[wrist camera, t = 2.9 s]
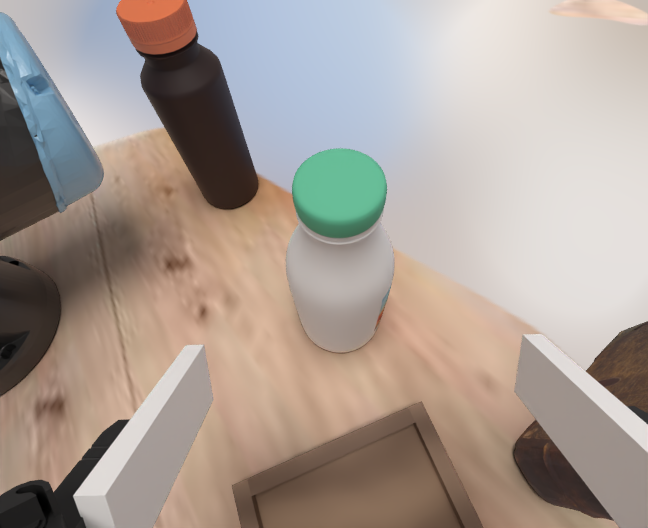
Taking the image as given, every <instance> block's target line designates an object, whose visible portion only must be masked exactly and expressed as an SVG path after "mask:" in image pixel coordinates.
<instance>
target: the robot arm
mask: <svg viewBox="0 0 648 528" xmlns="http://www.w3.org/2000/svg"><path fill="white" fill-rule="evenodd" d="M103 177H104V170H103V166H102V164H101V162H100V160H99V158H98V156H97V154H96V152H95V150H94V149H93V147H92V145H91V143H90V142H89V140H88V138H87V137H86V135H85V133H84V131H83V130H82V128H81V127H80V125H79V123H78V121H77V120H76V118H75V116H74V115H73V113H72V111H71V110H70V108H69V107H68V105H67V103H66V102H65V100H64V98H63V97H62V95H61V94H60V92H59V90H58V89H57V87H56V85H55V84H54V82H53V81H52V79H51V77H50V76H49V74H48V73H47V71H46V69H45V68H44V66H43V65H42V63H41V61H40V60H39V58H38V57H37V55H36V54H35V52H34V51H33V49H32V47H31V46H30V44H29V43H28V41H27V40H26V38H25V37H24V36H23V34H22V33H21V32H20V30H19V29H18V27H17V26H16V24H15V22H14V21H13V20H12V19H11V18H10V17H9V16H8V15H6V14H4V13H2V12H0V241H1V240H3V239H5V238H7V237H9V236H11V235H13V234H15V233H17V232H19V231H21V230H23V229H25V228H27V227H29V226H31V225H33V224H35V223H37V222H39V221H40V220H42V219H44V218H46V217H48V216H50V215H52V214H54V213H56V212H60V213H61V212H64V211H65V210H66V208H67V206H68V205H70V204H72V203H73V202H75V201H77V200H79V199H80V198H82V197H84V196H86V195H87V194H89V193H91V192H93V191H95V190H96V189H97V188H98V187H99V186H100V185H101V182H102V180H103ZM59 316H60V297H59V293H58V290H57V288H56V286H55V284H54V282H53V281H52V280H51V278H50V277H49V276H48V275H46V274H45V273H44V272H42V271H40V270H39V269H37V268H35V267H33V266H31V265H30V264H28V263H26V262H24V261H21V260H18V259H16V258H12V257H6V256H0V395H2V394H3V393H5V392H6V391H8V390H9V389H11V388H12V387H13V386H14V385H16V384H17V383H18V382H19V381H20V380H22V379H23V378H24V377H25V376H26V375H27V374H28V373H29V372H30V371H31V370H32V368H33V367H34V366H35V365H36V364H37V362H38V361H39V360H40V359H41V357H42V356H43V354H44V353H45V351H46V350H47V348H48V346H49V344H50V343H51V341H52V338H53V336H54V334H55V331H56V328H57V325H58V321H59ZM514 392H515V393H516V394H517V395H518V397H519V398H520V399H521V401H522V402H523V403H524V404H525V406H526V407H527V408H528V410H529V411H530V412H531V414H532V415H533V416H534V417H535V419H536V420H537V421H538V423H539V424H540V425H541V427H542V428H543V429H544V430H545V432H546V433H547V434H548V436H549V437H550V438H551V439H552V441H553V442H554V443H555V445H556V446H557V447H558V449H559V450H560V451H561V452H562V454H563V455H564V456H565V458H566V459H567V460H568V462H569V463H570V464H571V465H572V467H573V468H574V469H575V471H576V472H577V473H578V474H579V476H580V477H581V478H582V480H583V481H584V482H585V484H586V485H587V486H588V487H589V489H590V490H591V491H592V493H593V494H594V495H595V496H596V498H597V499H598V500H599V502H600V503H601V504H602V506H603V507H604V508H605V509H606V511H607V512H608V513H609V515H610V516H611V517H612V519H613V520H614V521H615V522H616V524H617V525H618V526H619V528H648V413H646V412H644V411H643V410H641V409H639V408H637V407H635V406H625V405H624V404H623V403H622V402H621V401H620V400H618V399H617V398H616V397H615V396H614V395H613V394H611V393H610V392H609V391H608V390H607V389H606V388H604V387H603V386H602V385H601V384H600V383H599V382H597V381H596V380H595V379H594V378H593V377H592V376H590V375H589V374H588V373H587V372H586V371H585V370H583V369H582V368H581V367H580V366H579V365H578V364H576V363H575V362H574V361H573V360H572V359H571V358H569V357H568V356H567V355H566V354H565V353H564V352H562V351H561V350H560V349H559V348H558V347H557V346H555V345H554V344H553V343H552V342H551V341H550V340H548V339H547V338H546V337H545V336H544V335H543V334H525V335H523V336H522V343H521V350H520V356H519V363H518V370H517V376H516V383H515V390H514ZM212 401H213V393H212V387H211V382H210V376H209V370H208V364H207V359H206V353H205V347H204V345H186V346H185V347H184V348H183V350H182V351H181V352H180V354H179V355H178V357H177V358H176V359H175V361H174V362H173V363H172V365H171V366H170V367H169V369H168V370H167V371H166V373H165V374H164V375H163V377H162V378H161V379H160V381H159V382H158V383H157V385H156V386H155V387H154V389H153V390H152V391H151V393H150V394H149V395H148V397H147V398H146V399H145V401H144V402H143V403H142V405H141V406H140V407H139V409H138V410H137V411H136V413H135V414H134V415H133V417H132V418H131V419H130V420H118V421H117V422H115V423H114V424H113V425H111V426H110V427H109V428H107V429H106V430H105V431H104V432H102V434H101V435H100V436H99V437H98V439H97V440H96V441H95V442H94V444H93V445H92V447H91V449H89V450H88V451H87V452H86V453H85V455H84V456H83V457H82V460H81V461H79V462H78V463H77V464H76V466H75V467H74V468H73V469H72V471H71V472H70V473H69V474H68V475H67V477H66V478H65V479H64V480H63V482H62V483H61V484H60V485H59V487H58V488H57V489H56V490H55V491H54V493H53V490H52V488H51V486H50V484H49V482H46V481H43V480H35V481H29V482H26V483H24V484H21V485H18V486H16V487H14V488H12V489H11V490H9V491H7V492H5V493H4V494H2V495H1V496H0V528H153V526H154V524H155V522H156V520H157V518H158V516H159V514H160V511H161V509H162V507H163V505H164V503H165V501H166V499H167V497H168V495H169V492H170V490H171V488H172V486H173V484H174V482H175V480H176V478H177V475H178V473H179V471H180V469H181V467H182V465H183V463H184V461H185V459H186V456H187V454H188V452H189V450H190V448H191V446H192V444H193V442H194V440H195V437H196V435H197V433H198V431H199V429H200V427H201V425H202V423H203V421H204V418H205V416H206V414H207V412H208V410H209V408H210V406H211V404H212Z"/></svg>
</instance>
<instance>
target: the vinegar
mask: <svg viewBox="0 0 648 528" xmlns="http://www.w3.org/2000/svg"><path fill="white" fill-rule="evenodd" d="M116 13H117V16H118V18H119V20H120V22H121V24H122V25H123V27H124V29H125V31H126V33H127V35H128V37H129V39H130V41H131V43H132V44H133V46H134V47H135V48H136V51H137V52H138V53H139V54H140V55H141V56H142V57H144V58H145V63H144V66H143V69H142V72H141V76H140V77H141V84H142V88H143V90H144V92H145V93H146V95H147V97H148V99H149V100H150V102H151V104H152V106H153V107H154V109H155V111H156V113H157V114H158V116H159V118H160V120H161V122H162V123H163V125H164V127H165V129H166V130H167V132H168V134H169V136H170V137H171V139H172V141H173V143H174V144H175V146H176V148H177V150H178V151H179V153H180V155H181V157H182V159H183V160H184V162H185V164H186V166H187V167H188V169H189V171H190V173H191V174H192V176H193V178H194V180H195V181H196V183H197V185H198V187H199V188H200V190H201V192H202V194H203V195H204V197H205V198H206V200H207V201H208V202H209V203H210V204H212V205H214V206H215V207H219V208H223V209H228V208H235V207H239V206H242V205H243V204H245V203H247V202H248V201H249V200H250V199H251V198H252V197H253V196H254V195H255V193H256V191H257V189H258V178H257V175H256V172H255V169H254V166H253V163H252V159H251V156H250V153H249V150H248V147H247V144H246V141H245V138H244V135H243V131H242V128H241V125H240V122H239V119H238V116H237V113H236V110H235V107H234V104H233V100H232V97H231V94H230V91H229V88H228V85H227V82H226V79H225V76H224V73H223V70H222V67H221V64H220V61H219V59H218V57H217V56H216V55H215V54H213V52H212V51H210V50H209V49H207V48H205V47H203V46H202V45H200V44H198V43H197V40H198V33H197V29H196V26H195V22H194V20H193V17H192V13H191V10H190V8H189V5H188V2H187V0H121V1H120V2H119V5H118V6H117V10H116Z"/></svg>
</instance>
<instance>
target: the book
mask: <svg viewBox="0 0 648 528" xmlns="http://www.w3.org/2000/svg"><path fill="white" fill-rule="evenodd" d="M586 372H587V373H588V374H589V375H590V376H592V377H593V378H594V379H595V380H596V381H597V382H599V383H600V384H601V385H602V386H603V387H604V388H606V389H607V390H608V391H609V392H610V393H611V394H613V395H614V396H615V397H616V398H617V399H618V400H620V401H621V402H622V403H623V404H624V405H625V406H635V407H637V408H639V409H641V410H643V411H644V412H646V413H648V322H645V323H642V324H639V325H637V326H634V327H631V328H628V329H626V330H624V331H621V332H620V333H619V334H618V335H617V336H616V337H615V338H614V339H613V340H612V342H610V343H609V344H608V345H607V346H606V348H605V349H604V350H603V351H602V352H601V353H600V354H599V355H598V356H597V357H596V358H595V360H594V362H593V363H592V365H591V366H590V367H589V368H588V369H587V370H586ZM514 455H515V459H516V462H517V463H518V465H519V467H520V469H521V471H522V473H523V474H524V476H525V478H526V479H527V481H528V482H529V483H530V485H531V486H532V487H533V489H534V490H535V491H536V493H537V494H538V495H539V496H540V497H542V498H543V499H544V500H545V501H547V502H548V503H551V504H553V505H556V506H561V507H565V508H570V509H574V510H578V511H581V512H582V513H584V514H587V515H589V516H591V517H593V518H606V519H609V520H613V519H612V517H611V516H610V515H609V513H608V512H607V511H606V509H605V508H604V507H603V506H602V504H601V503H600V502H599V500H598V499H597V498H596V496H595V495H594V494H593V493H592V491H591V490H590V489H589V487H588V486H587V485H586V484H585V482H584V481H583V480H582V478H581V477H580V476H579V474H578V473H577V472H576V471H575V469H574V468H573V467H572V465H571V464H570V463H569V462H568V460H567V459H566V458H565V456H564V455H563V454H562V452H561V451H560V450H559V449H558V447H557V446H556V445H555V443H554V442H553V441H552V439H551V438H550V437H549V436H548V434H547V433H546V432H545V430H544V429H543V428H542V427H541V425H540V424H539V423H538V421H537V420H535V421H534V422H533V423H532V424H531V425H530V426H529V427H528V428H527V429H526V431H525V432H524V433H523V434H522V435H521V437H520V438H519V439H518V440H517V443H516V449H515V452H514ZM613 521H614V520H613Z"/></svg>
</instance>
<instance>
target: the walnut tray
mask: <svg viewBox="0 0 648 528" xmlns="http://www.w3.org/2000/svg"><path fill="white" fill-rule="evenodd" d="M232 489H233V493H234V497H235V502H236V506H237V511H238V515H239V520H240V524H241V528H483V526H482V524H481V522H480V520H479V518H478V516H477V513H476V511H475V509H474V507H473V505H472V503H471V501H470V499H469V497H468V495H467V493H466V491H465V489H464V487H463V485H462V483H461V481H460V479H459V477H458V475H457V473H456V471H455V469H454V467H453V465H452V462H451V460H450V458H449V456H448V454H447V452H446V450H445V448H444V446H443V444H442V442H441V440H440V438H439V436H438V434H437V432H436V430H435V428H434V426H433V424H432V422H431V420H430V418H429V416H428V414H427V412H426V409H425V407H424V405H423V403H422V401H421V402H419V403H417V404H414V405H412V406H410V407H408V408H405V409H403V410H401V411H399V412H396V413H394V414H392V415H390V416H387V417H385V418H383V419H381V420H378V421H376V422H374V423H372V424H369V425H367V426H365V427H363V428H360V429H358V430H356V431H354V432H351V433H349V434H347V435H345V436H342V437H340V438H338V439H336V440H333V441H331V442H329V443H327V444H324V445H322V446H320V447H318V448H315V449H313V450H311V451H309V452H306V453H304V454H302V455H300V456H297V457H295V458H293V459H291V460H288V461H286V462H284V463H282V464H279V465H277V466H275V467H273V468H270V469H268V470H266V471H264V472H261V473H259V474H257V475H255V476H252V477H250V478H248V479H246V480H243V481H241V482H239V483H237V484H234V485H232Z"/></svg>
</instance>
